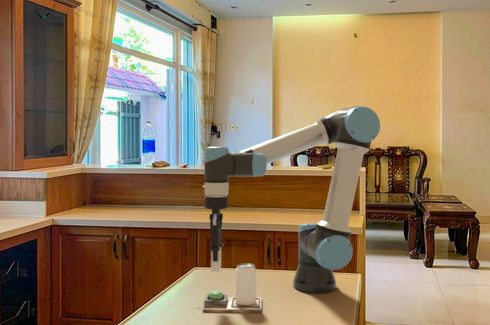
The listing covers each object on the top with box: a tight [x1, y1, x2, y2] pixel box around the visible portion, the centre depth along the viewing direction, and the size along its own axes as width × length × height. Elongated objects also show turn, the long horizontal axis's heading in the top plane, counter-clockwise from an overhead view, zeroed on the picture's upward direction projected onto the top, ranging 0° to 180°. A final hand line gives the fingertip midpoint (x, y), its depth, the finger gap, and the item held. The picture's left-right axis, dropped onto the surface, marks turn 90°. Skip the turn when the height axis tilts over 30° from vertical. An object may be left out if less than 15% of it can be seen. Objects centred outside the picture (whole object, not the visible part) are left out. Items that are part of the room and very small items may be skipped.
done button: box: [208, 290, 224, 300], centre depth 162 cm, size 4×4×2 cm
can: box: [235, 262, 257, 306], centre depth 162 cm, size 6×6×12 cm
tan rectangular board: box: [202, 293, 263, 314], centre depth 162 cm, size 18×13×3 cm
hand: (216, 269), depth 162 cm, fingers open, 4 cm apart
